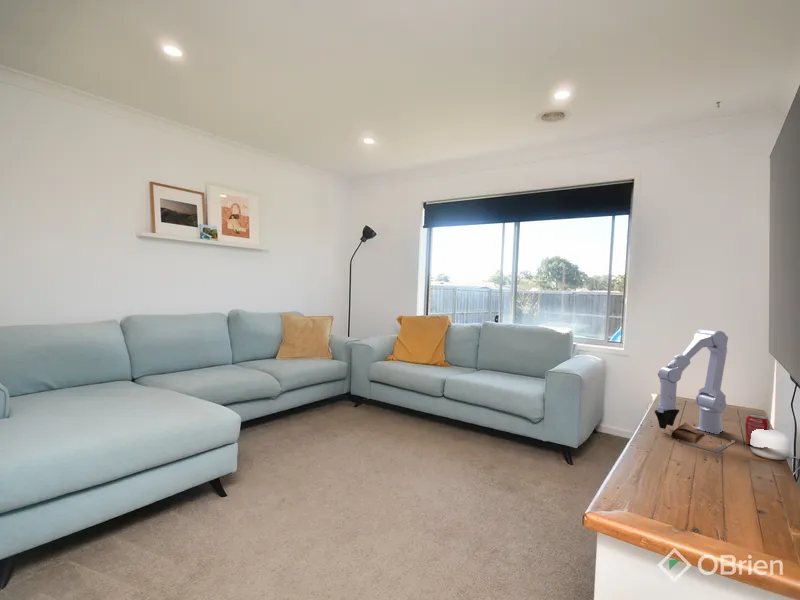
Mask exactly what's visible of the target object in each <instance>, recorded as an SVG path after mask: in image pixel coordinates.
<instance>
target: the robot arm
mask: <svg viewBox="0 0 800 600" xmlns="http://www.w3.org/2000/svg"><path fill="white" fill-rule="evenodd" d="M728 338H729V337H728V336H727V335H726V333H725V332H724V331H721V330H709V329H704V328H700V329H698V330H697V331H696V333H695V334H694V335H693V340H691V342H690V343H689V345H688V346H687V347H686V349H684V351H683V352H682V353H680V354H676V355H674V356H673V359H672V360H670V362H669V363H668V364H667V365H666V366H663V367H661V368H659V370H658V372H657V377H658V378H659V383H660V387H659V388H660V392H659V403H656V406H658V407H657V409H655V410H654V414H655V416H656V417H657V421H658V426H659V428H660V429H663V430H666V429H667V426H671V427H674V423H675V420H676V418H677V416H678V414H680V409H677V407H678V406H677V403H676V401H677V387H678V386H677V383H678V382H680V380H681V378H682V375H683V372H684V371H685V370H686V369H687V367H688V366H689V365H690V364H691V359H692V358H693V357H695V355H696V354H697V353H699V352H700V351H701V350H702V349H703V348H707V350H708V351H710V352H709V361H708V366H707V369H706V370H707V372H706V377H705V383H704V386H703V387H701V388H700V389H699V390H698V394H697V395H696V397H695V403H696V404H697V406H698V409H699V415H698V416H699V419H698V421H699V422H698V426H696V427H694V429H696V430H698V431H701V432H705V431H706V432H705V433H709V432H710V433H709V434H713V433H714V434H713V435H719V434H721V433H723V432H724V431H725V429H723V428H722V422H723V415H722V413H723V412H724V411H725V410H726V408H727V401H726V398H727V397H726V394H725V393H724V392H723V391H722V390H721V388H722V382H723V377H724V370H725V365H726V358H727V353H728V347H727V346H728V341H729V339H728ZM722 431H723V432H722ZM720 432H721V433H720Z"/></svg>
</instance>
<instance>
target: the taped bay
mask: <svg viewBox="0 0 800 600" xmlns="http://www.w3.org/2000/svg"><path fill="white" fill-rule="evenodd" d="M680 443H681V444H683V445H688V446H690V445H691V447H694V446H695V448H698V449H701V450H705V451H708V452H713V453H716V454H718V453H720V452H722V451H723V450H725V449H726V447H727V448H728V447H729V446H726V443H724V444H725V445H724V444H723V445H721V446H720V447H718V448H716V449H715V450H713V449H709V448H706V447H702V446H700V445H695V444H693V443H689V442H686V441H682V440H679V444H680Z"/></svg>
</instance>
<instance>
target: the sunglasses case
mask: <svg viewBox="0 0 800 600" xmlns="http://www.w3.org/2000/svg"><path fill="white" fill-rule="evenodd" d="M702 432H703V431H701V430H698V429H695V427H692V426H691V425H690V424H689V423H688V422H684V423H682V424H681V425H679V426H678V427H677V428H675V429H674V430H673V431H672V432H671V438H672V439H675V440H678V439H679V440H678V441H682V440H683V441H682V442H686V441H688V442H687V443H691V442H693V443H692V444H696V443H697V441H698V440H699V439H700V438H701V437H703V436H705V435H704V434H703V433H702Z"/></svg>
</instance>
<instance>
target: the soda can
mask: <svg viewBox="0 0 800 600" xmlns="http://www.w3.org/2000/svg"><path fill="white" fill-rule="evenodd" d="M744 425H745V426H744V427H745V428H744V443H745V444H746V445H748V444H750V439H751V433H752V431H754V430H756V429H764V430H769V431H770V421H769V419H768V416H766V415H762V414H757V413H748V415H747V417H746V418H745V424H744Z"/></svg>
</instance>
